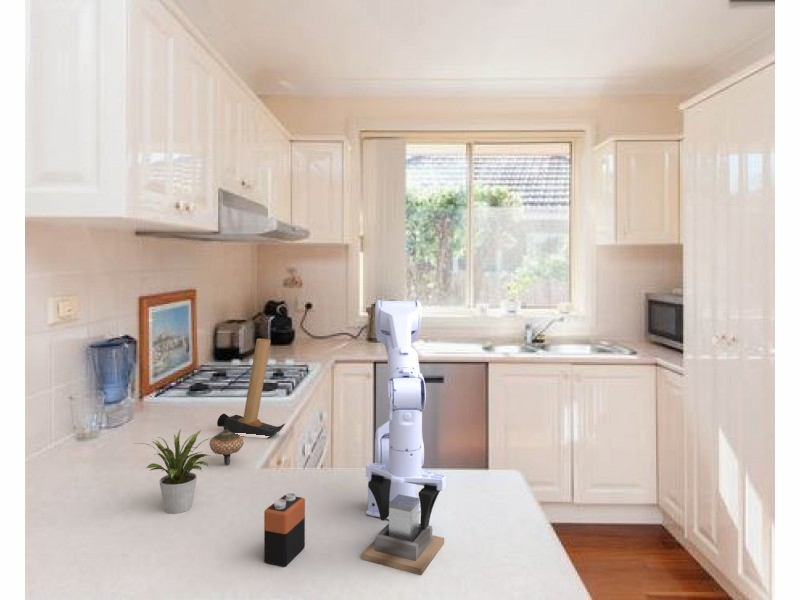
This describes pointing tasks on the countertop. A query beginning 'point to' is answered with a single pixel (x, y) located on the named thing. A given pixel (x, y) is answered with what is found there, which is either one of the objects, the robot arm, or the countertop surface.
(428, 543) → the socket block
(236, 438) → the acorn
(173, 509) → the house plant
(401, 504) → the peg
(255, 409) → the hammer
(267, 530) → the battery
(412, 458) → the robot arm
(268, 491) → the countertop surface
